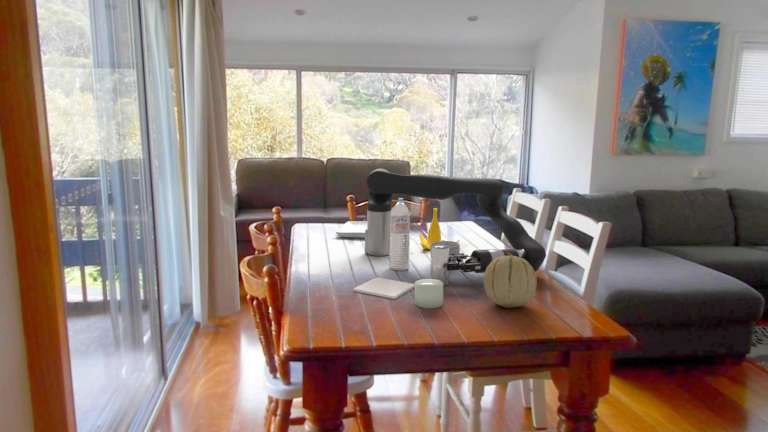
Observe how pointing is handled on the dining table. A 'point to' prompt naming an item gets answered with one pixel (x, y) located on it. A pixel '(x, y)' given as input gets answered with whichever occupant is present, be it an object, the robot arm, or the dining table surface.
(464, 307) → the dining table surface
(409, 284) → the tile
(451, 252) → the teacup
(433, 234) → the banana peel
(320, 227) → the dining table surface
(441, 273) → the can
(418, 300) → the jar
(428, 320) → the dining table surface
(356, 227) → the square plate
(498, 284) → the cantaloupe
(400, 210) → the water bottle
